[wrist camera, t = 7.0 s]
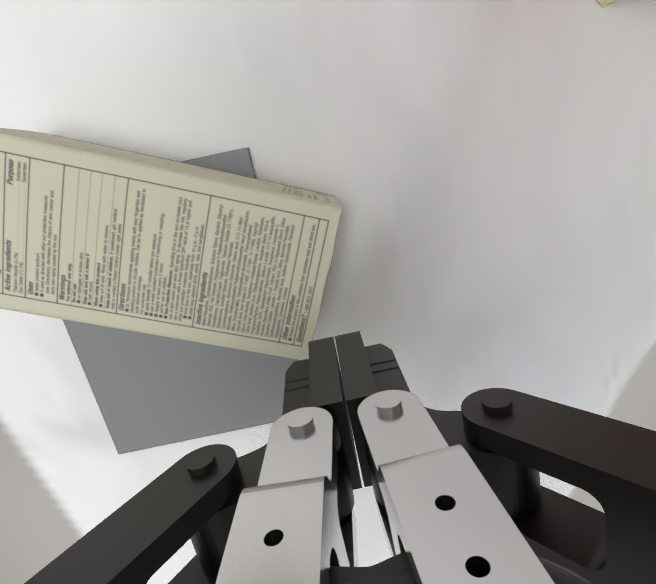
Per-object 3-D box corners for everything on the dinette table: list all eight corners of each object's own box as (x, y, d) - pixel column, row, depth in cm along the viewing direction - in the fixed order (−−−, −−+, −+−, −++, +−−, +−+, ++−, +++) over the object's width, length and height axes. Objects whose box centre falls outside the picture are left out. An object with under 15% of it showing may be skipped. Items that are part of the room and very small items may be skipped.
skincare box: (338, 195, 20) (45, 125, 18) (347, 207, 15) (-34, 117, 14) (306, 328, 21) (37, 273, 20) (307, 372, 17) (-35, 306, 16)
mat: (248, 147, 19) (246, 147, 19) (312, 409, 23) (312, 414, 23) (17, 197, 19) (12, 197, 19) (121, 449, 23) (118, 454, 23)
